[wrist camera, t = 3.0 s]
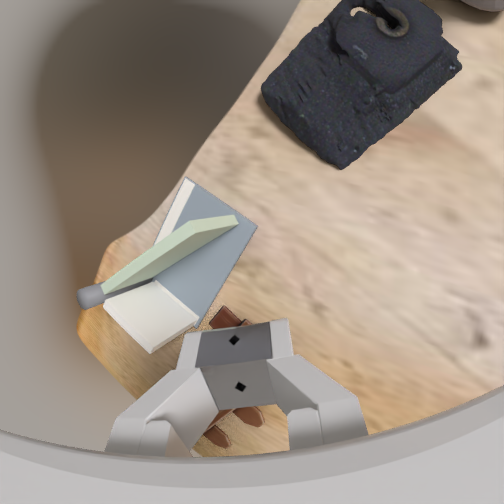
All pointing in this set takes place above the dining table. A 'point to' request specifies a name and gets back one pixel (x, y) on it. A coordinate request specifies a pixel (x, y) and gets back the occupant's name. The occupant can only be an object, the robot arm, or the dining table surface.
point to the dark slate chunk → (360, 76)
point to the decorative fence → (245, 414)
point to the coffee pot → (486, 4)
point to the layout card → (201, 250)
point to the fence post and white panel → (141, 312)
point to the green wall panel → (170, 251)
